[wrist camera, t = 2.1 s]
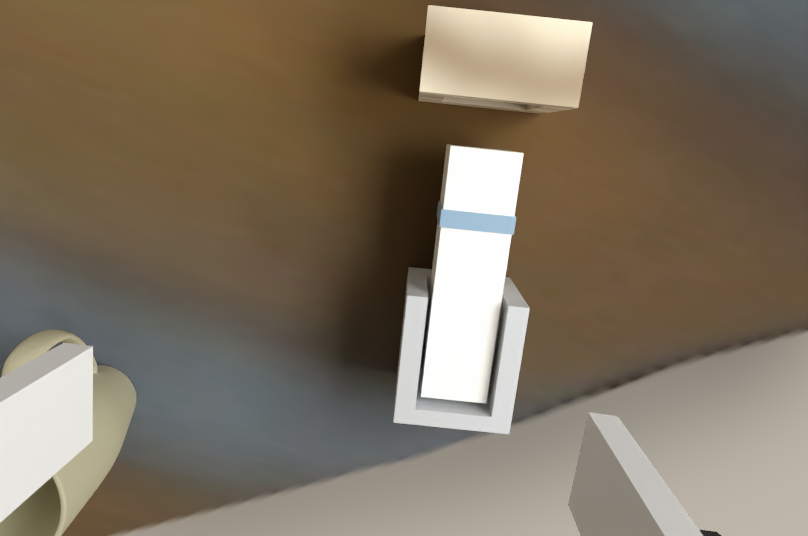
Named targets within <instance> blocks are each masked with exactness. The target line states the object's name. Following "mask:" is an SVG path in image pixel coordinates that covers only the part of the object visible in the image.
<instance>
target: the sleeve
mask: <svg viewBox="0 0 808 536" xmlns="http://www.w3.org/2000/svg"><path fill="white" fill-rule="evenodd" d="M431 274H432V269H424V268H414V267H409V268H408V277H407V286H406V296H405V305H404V315H403V324H402V334H401V343H400V352H399V362H398V371H397V383H396V397H395V410H394V423H404V424H414V425H423V426H433V427H443V428H453V429H463V430H473V431H482V432H492V433H502V434H509V432H510V426H511V420H512V414H513V407H514V401H515V395H516V389H517V383H518V377H519V370H520V364H521V358H522V352H523V346H524V340H525V333H526V327H527V321H528V315H529V309H530V308H529V306H528V305H527V303H526V302H525V300H524V299H523V297H522V296H521V294H520V293H519V291H518V290H517V288H516V287H515V285H514V284H513V282H512V281H511V279H510V278H509V277H505V282H504V289H503V295H502V302H501V309H500V315H499V322H498V329H497V335H496V342H495V349H494V356H493V362H492V369H491V376H490V382H489V389H488V396H487V402H486V403H476V402H466V401H456V400H446V399H437V398H427V397H421V377H420V368H421V360H422V351H423V343H424V334H425V326H426V317H427V308H428V300H429V291H430V283H431Z"/></svg>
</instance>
